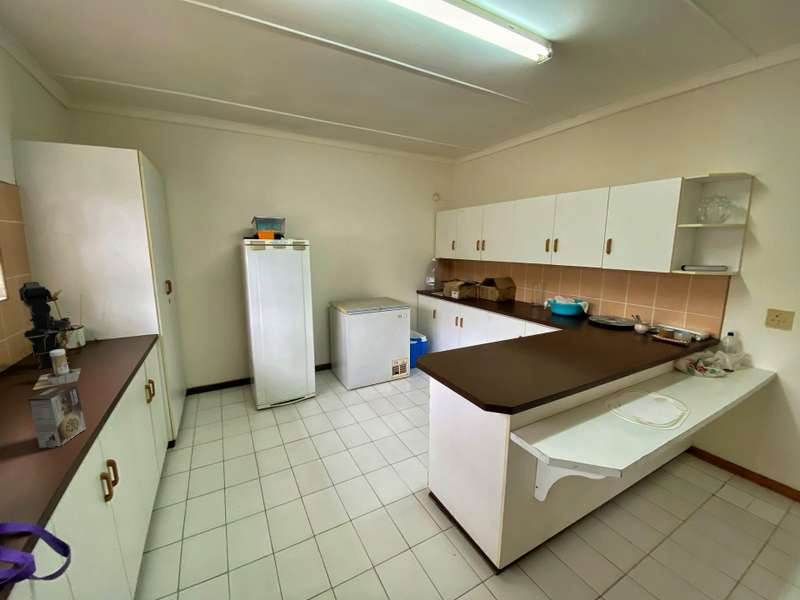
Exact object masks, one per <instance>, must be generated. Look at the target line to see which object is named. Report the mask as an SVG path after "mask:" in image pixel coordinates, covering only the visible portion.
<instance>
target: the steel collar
mask: <svg viewBox="0 0 800 600" xmlns="http://www.w3.org/2000/svg"><path fill="white" fill-rule="evenodd" d="M75 369H76V368H75ZM75 369H74V368H73V369H70V368H69V373H70V374H67V375H64V376H58V377H56V376H55V373H54V372H51V373H49V374H50V375H48V376H47V378H48V383H49V384H51V385H54V384H60V385H63V384H62V383H65V384H68V383H67V382H70V381H73V380H75V379H77V378H78V379H79V376H78V372H77V370H75ZM70 383H71V382H70Z"/></svg>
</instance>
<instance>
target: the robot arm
mask: <svg viewBox="0 0 800 600" xmlns="http://www.w3.org/2000/svg"><path fill="white" fill-rule="evenodd" d="M22 284H23V286H22V287H20V288H19V289H18V295H19V300H20V302H22V303H23V306H24V307H26V308H27V309H29V311H30V316H31V318H30V319H29V322H32V326H33V327H32V328H31V329H30V330H26V331H24V332H23V336H24V338H25V339H26V340H29V341H30V342H31V343H32V344H31V349H32V350H31V351H32V353H33V354H32V355H33V357H34V358H37V357H38V362H39V367H38V368H37V369H38V370H42V369H48V368H53V364H52V359H51V356H50V352H51V351H53V350H57V349H61V343H60V342H58V340H57V336H58V335H59V334H60V333H62V331H63V330H66V329H69V328H70V325H72V324H71V320H69V318H67V317H62V318H60V319H55V317H54V316H53V315H52V316H51V311H52V307H51V306H50V304H48V302H51V301H52V300H53V296H52V293H51V291H50V290H49V289H48V288H46V287H45V286H41V285H40V283H39V281H38V282H36V281H31V282H29V281H28V282H24V283H22Z"/></svg>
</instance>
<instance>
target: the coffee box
mask: <svg viewBox="0 0 800 600" xmlns="http://www.w3.org/2000/svg"><path fill="white" fill-rule="evenodd" d="M80 399H81V398H80V394H79V390H78V385H77V384H71V385H70V384H60V385H55V386H51V387H50V388H48V389H46V390H44V391H42V392H40V393H38V394H35V395H34V396H32V397H30V398H28V404H29V408H30V412H31V415H32V421H33V424H34V429H35V433H36V436H37V437H36V438H37V442H38V446H39V447H38V448H40V449H44V448H45V449H47V447H48V448H56V447H55V446H61V445H63V444H64V443H66V442H67V441H69V440H70V439H71V438H73V437H74V436H75V435H77V434H79V433H80V432H82V431H83V430H85V429H86V430H87V427H86V426H87V425H86V423H85V422H86V420H85V417H84V413H83V409H82V404H81V400H80ZM86 430H85V431H86ZM82 433H83V432H82ZM79 435H80V434H79ZM69 442H70V441H69ZM66 444H67V443H66ZM63 446H64V445H63Z"/></svg>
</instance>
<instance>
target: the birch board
mask: <svg viewBox="0 0 800 600" xmlns="http://www.w3.org/2000/svg"><path fill="white" fill-rule="evenodd" d="M75 370H77V372H78V378H77V379H75V380H73V381H70V382H67V383H62V384H54V385H51V384H49V383H48V378H47V376H48V375H50V374H51V373H48V374H42V375H40V376H39V378H38V380H37V382H36V383H35V385H34V387H33V388H32V390H39V389H43V388H44V389H45V388H48V387H50V388H51V387H54V386H56V385H66V384H68V383H74V382H78V380H79V376H80V373H81V370H82V368H75Z"/></svg>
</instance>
